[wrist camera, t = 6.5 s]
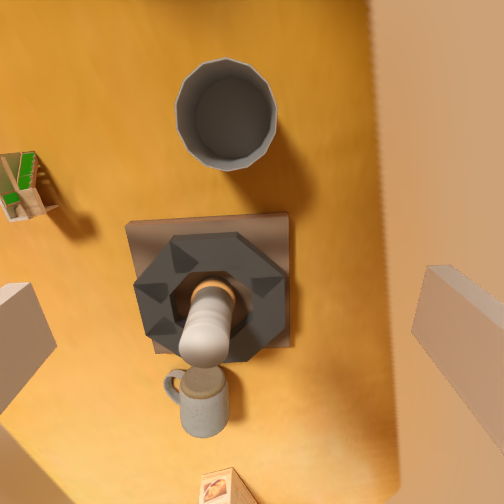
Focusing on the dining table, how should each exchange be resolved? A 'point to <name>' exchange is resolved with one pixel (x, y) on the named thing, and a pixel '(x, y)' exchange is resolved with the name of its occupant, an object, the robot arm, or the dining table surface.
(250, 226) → the pipe stand
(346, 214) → the dining table surface
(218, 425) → the ceramic mug
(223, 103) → the cup
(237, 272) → the ring
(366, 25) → the dining table surface
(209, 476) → the coffeecake box
